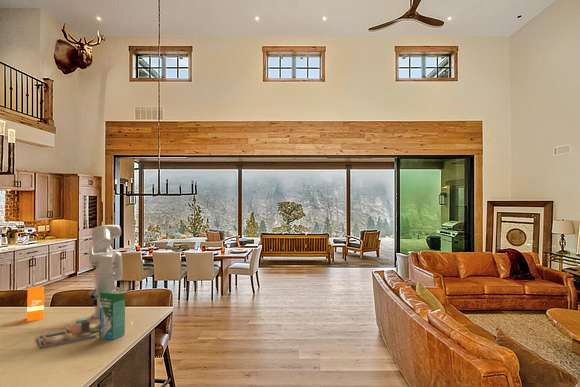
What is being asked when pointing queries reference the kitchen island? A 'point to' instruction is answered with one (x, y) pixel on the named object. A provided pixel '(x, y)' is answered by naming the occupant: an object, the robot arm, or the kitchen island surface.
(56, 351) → the kitchen island surface
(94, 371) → the kitchen island surface
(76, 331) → the rounded peach cylinder
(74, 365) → the kitchen island surface
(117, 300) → the milk carton
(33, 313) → the orange juice
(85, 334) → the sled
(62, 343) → the lane frame
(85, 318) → the teal cube
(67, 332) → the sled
